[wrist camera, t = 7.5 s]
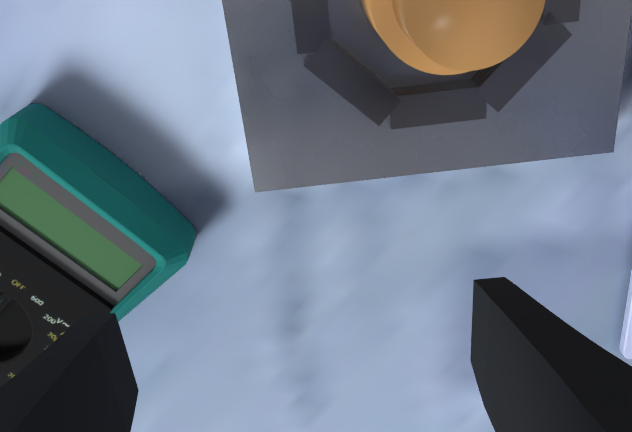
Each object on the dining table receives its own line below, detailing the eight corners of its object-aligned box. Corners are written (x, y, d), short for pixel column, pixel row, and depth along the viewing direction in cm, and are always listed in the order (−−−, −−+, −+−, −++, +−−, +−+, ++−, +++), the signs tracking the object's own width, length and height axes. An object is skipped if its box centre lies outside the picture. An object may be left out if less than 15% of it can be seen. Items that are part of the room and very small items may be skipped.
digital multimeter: (-161, 337, 24) (-217, 388, 21) (42, 88, 20) (3, 113, 17) (-4, 426, 27) (-37, 481, 24) (208, 222, 22) (195, 262, 20)
